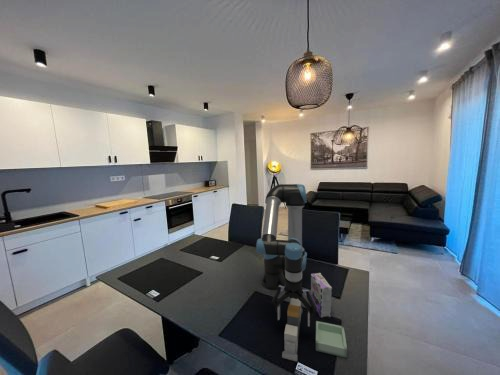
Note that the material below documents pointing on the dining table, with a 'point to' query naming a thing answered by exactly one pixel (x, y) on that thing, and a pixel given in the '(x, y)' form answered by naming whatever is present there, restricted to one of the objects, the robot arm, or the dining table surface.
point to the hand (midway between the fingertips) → (293, 321)
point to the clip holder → (290, 350)
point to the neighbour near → (291, 335)
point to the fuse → (293, 316)
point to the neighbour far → (297, 303)
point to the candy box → (321, 294)
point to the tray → (331, 339)
